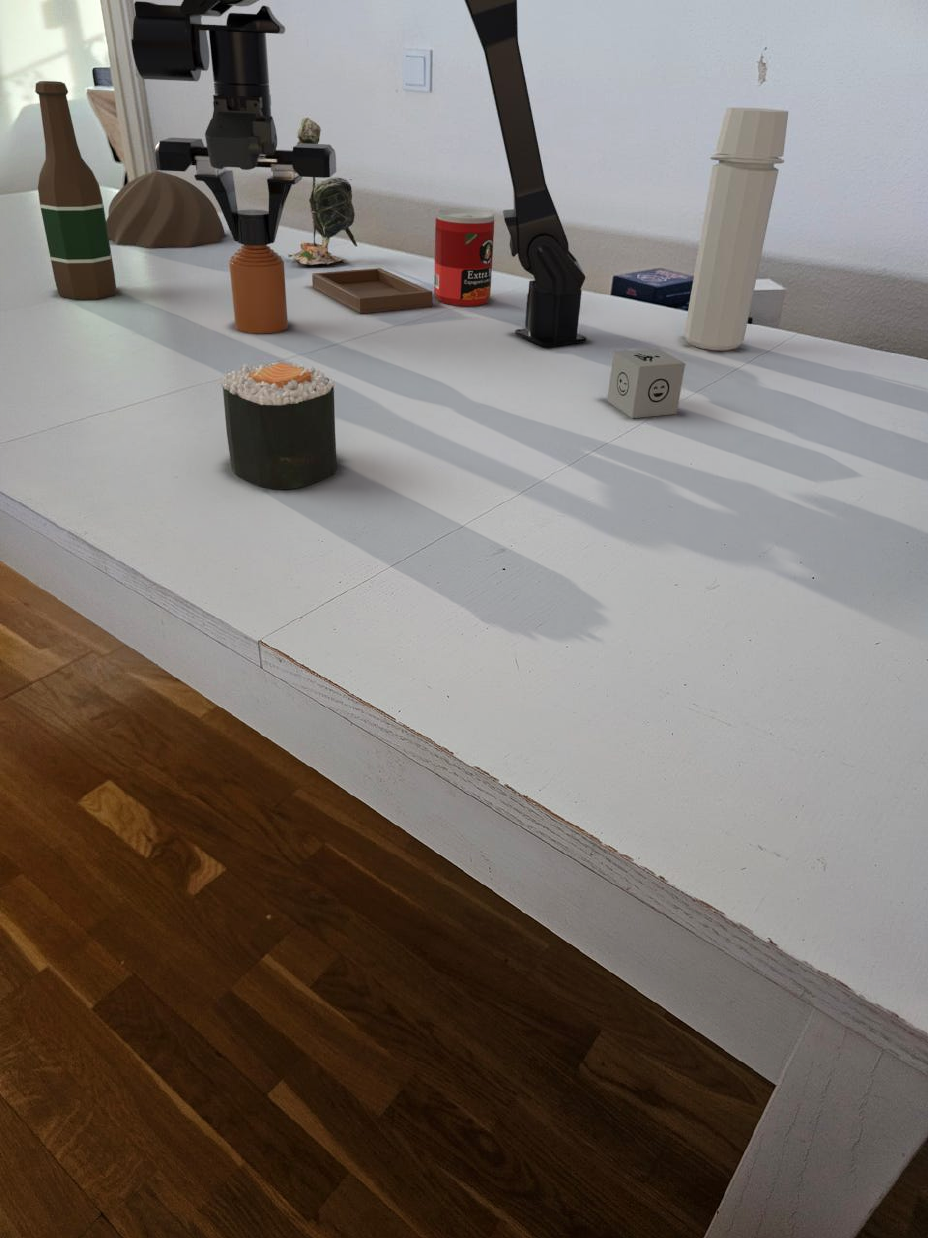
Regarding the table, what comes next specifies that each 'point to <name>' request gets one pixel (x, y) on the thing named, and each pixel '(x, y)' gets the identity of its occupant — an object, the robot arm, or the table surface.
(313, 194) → the plant with pod
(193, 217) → the decorative dome
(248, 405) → the sushi
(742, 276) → the water bottle
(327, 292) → the tray
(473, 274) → the canned food
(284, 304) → the bottle
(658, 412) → the dice cube
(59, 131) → the beer bottle
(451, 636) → the table surface
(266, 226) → the cap
